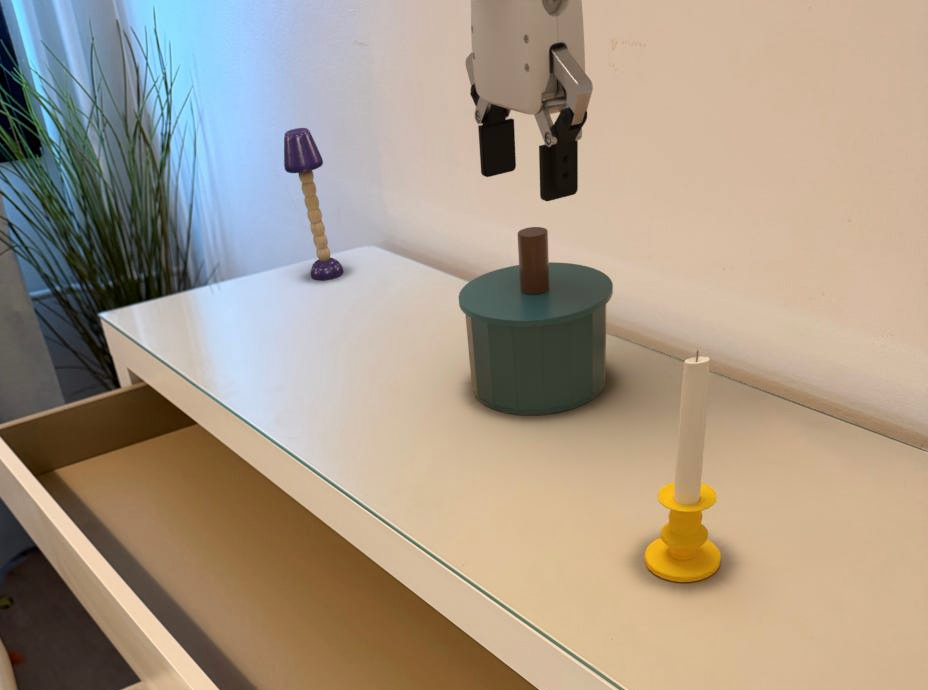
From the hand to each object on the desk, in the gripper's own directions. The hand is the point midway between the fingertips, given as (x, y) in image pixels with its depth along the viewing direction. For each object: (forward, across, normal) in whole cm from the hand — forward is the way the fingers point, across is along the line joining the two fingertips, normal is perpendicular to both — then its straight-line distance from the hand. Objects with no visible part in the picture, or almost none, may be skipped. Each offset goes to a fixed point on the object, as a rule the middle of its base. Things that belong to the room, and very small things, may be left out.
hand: (527, 184), depth 78 cm
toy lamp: (+18, +44, +4) cm, 48 cm away
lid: (+9, 0, 0) cm, 9 cm away
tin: (+18, 0, 0) cm, 18 cm away
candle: (+18, -31, +6) cm, 36 cm away
